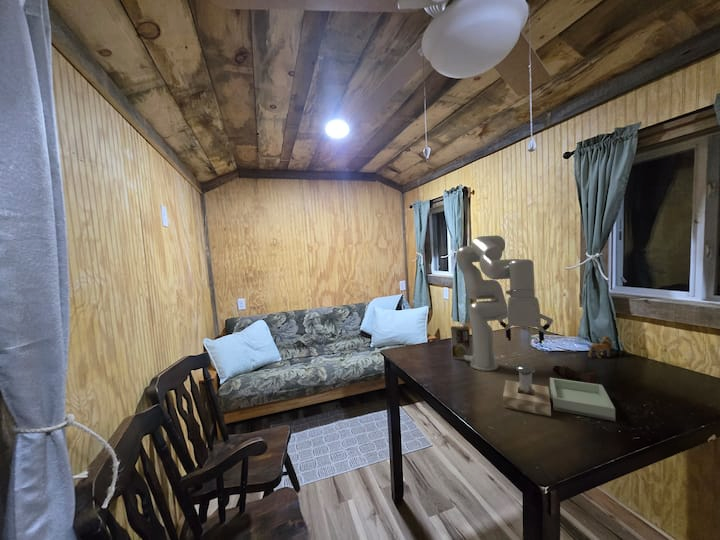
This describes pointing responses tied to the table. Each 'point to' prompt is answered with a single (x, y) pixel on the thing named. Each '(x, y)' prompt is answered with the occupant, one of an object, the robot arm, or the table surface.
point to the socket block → (527, 398)
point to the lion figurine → (601, 347)
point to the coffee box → (460, 341)
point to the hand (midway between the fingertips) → (524, 341)
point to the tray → (581, 399)
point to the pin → (525, 378)
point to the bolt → (575, 374)
